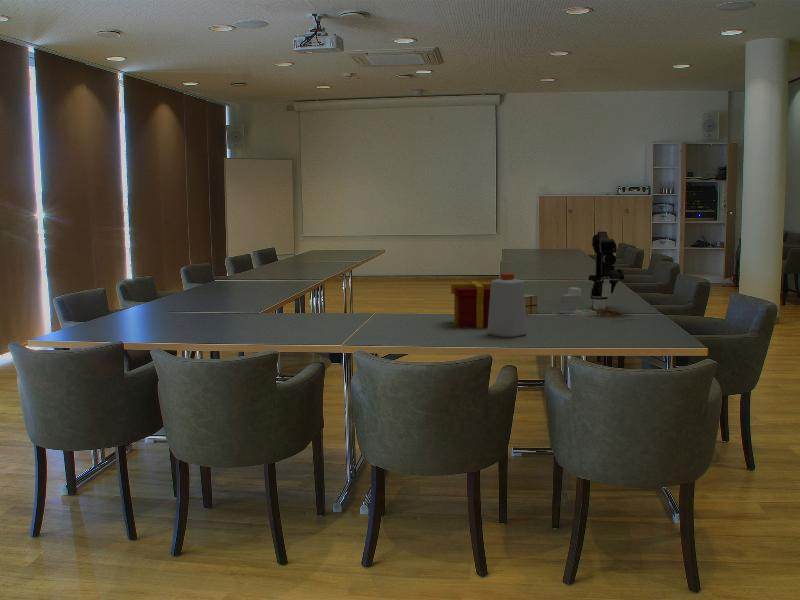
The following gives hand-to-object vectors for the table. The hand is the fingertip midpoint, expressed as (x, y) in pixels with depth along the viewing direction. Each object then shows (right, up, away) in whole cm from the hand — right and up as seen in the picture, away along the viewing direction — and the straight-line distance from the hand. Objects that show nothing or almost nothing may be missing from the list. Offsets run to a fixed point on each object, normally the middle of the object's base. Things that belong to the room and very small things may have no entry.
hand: (606, 293), depth 411 cm
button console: (-10, -12, +2) cm, 16 cm away
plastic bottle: (-58, -19, -48) cm, 77 cm away
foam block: (-7, -5, +60) cm, 61 cm away
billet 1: (-1, -10, +9) cm, 13 cm away
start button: (-10, -11, +2) cm, 15 cm away
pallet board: (0, -11, +5) cm, 13 cm away
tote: (-19, -11, +8) cm, 24 cm away
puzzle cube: (-40, -11, +15) cm, 44 cm away
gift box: (-69, -16, -18) cm, 73 cm away
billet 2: (0, -1, 0) cm, 1 cm away
